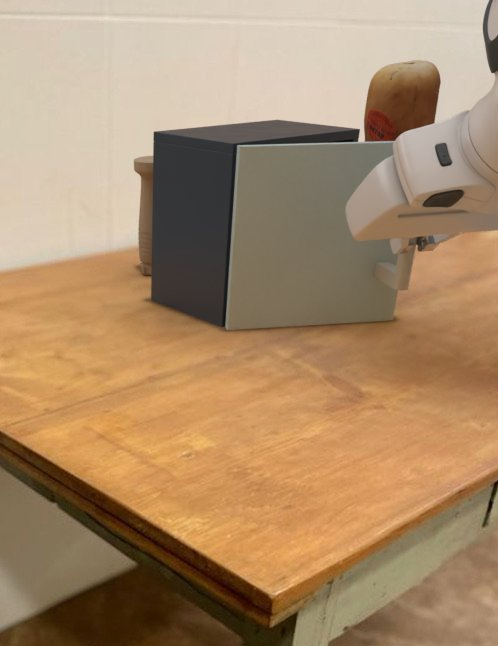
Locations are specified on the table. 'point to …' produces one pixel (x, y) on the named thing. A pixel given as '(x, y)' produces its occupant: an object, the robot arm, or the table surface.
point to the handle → (145, 212)
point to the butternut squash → (401, 99)
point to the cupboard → (207, 207)
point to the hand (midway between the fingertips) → (409, 246)
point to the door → (307, 239)
